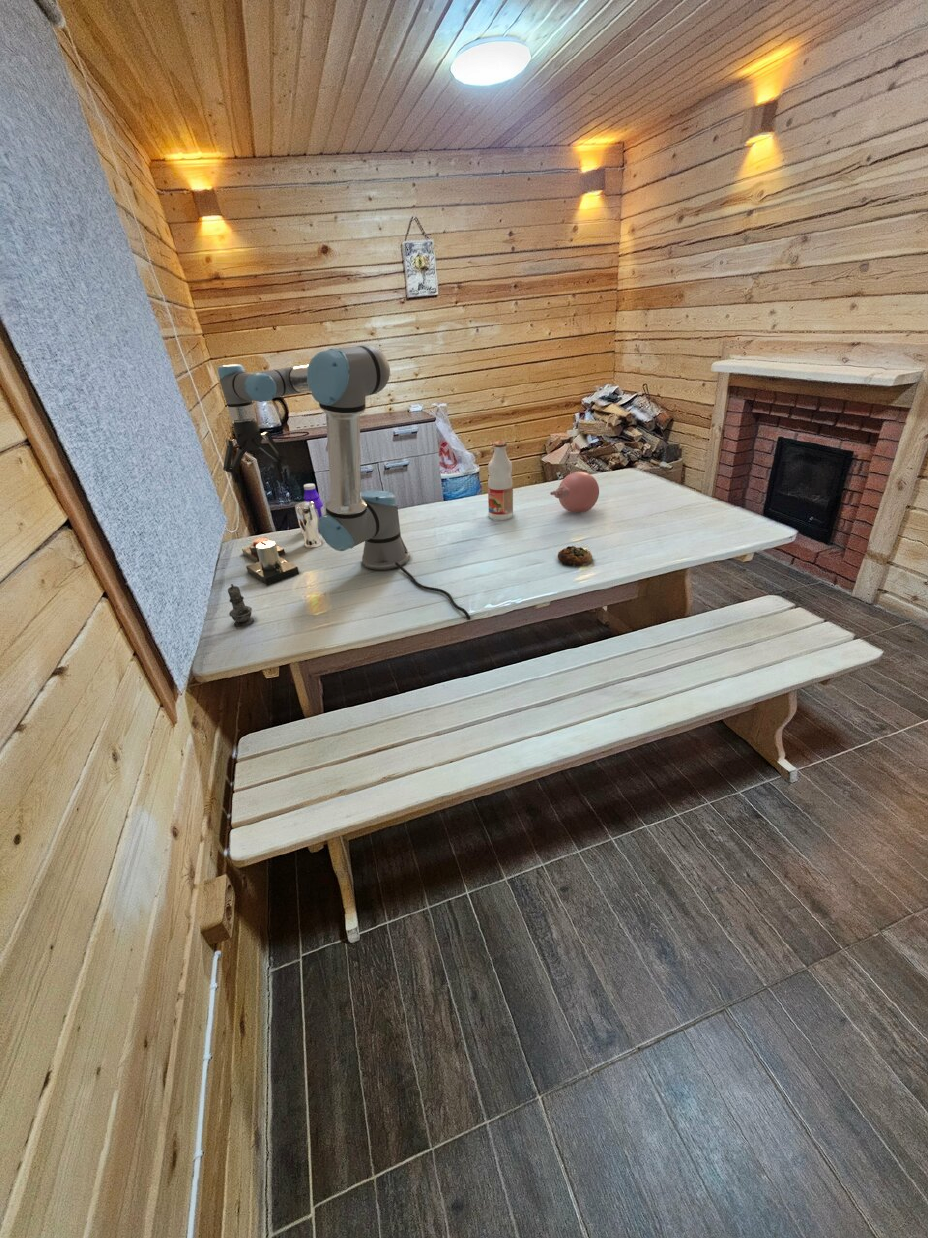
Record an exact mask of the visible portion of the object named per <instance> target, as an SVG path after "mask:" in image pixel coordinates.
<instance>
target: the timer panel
mask: <svg viewBox="0 0 928 1238" xmlns="http://www.w3.org/2000/svg"><path fill="white" fill-rule="evenodd" d="M279 559H280V563H281V566H280V567H278V568H276V569H273V570H263V569H262V567H261V564H260V561H259V562H253V563H251V564H248V565H245V567H246V571H247V574H249V575H250V576H252V577H253V578H255V579H256V580H258V581H259V582H260V583H262V584H263V585H265V586H266V587H267V586H271V585H273V584H276V583H278V582H281V581H285V580H286V579H290V578H292V577H294V576H297V575H299V574H300V571H299V568H298V566H297V565H295V564H293V563H291V562H290V561H288V560H286V559H285V558H283V557H282V556H279Z"/></svg>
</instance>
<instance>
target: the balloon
mask: <svg viewBox="0 0 928 1238" xmlns="http://www.w3.org/2000/svg"><path fill="white" fill-rule="evenodd" d="M550 495H551V496H554V498H556V499H558V501H559V503H560V505H561V507H563V508H564V509H565V510H566V511H567V512H569V513H573V514H581V513H586V512H588V511H590V510H591V509H592V508H593V507H595V505H596V503H597V501H598V500H599V497H600V487H599V483H598V481H597V480H596V479H595V477H594V476H593V475H592V474H590V473H588V472H585V471H574V472H571V473H569V474H568V475H566V476H565V477H564V478H563V479H562V480H561V481H560V483H559V485H558V487H557V488H556V489H555V490H553V491H550Z"/></svg>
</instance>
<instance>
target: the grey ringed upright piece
mask: <svg viewBox="0 0 928 1238" xmlns="http://www.w3.org/2000/svg"><path fill="white" fill-rule="evenodd" d="M227 593H228V595H229V596H228V597H229V603H231V606H232V609H231V610H230V611H229V613H228V615H229V617H231V619H232V620H233V621H234V623H233V626H234V627H235V628H237V629H240V628H247V627H249V626H251V625H252V624H254V622H255V619H254V618H253V617H252V611H253V608H252V607H251V606H248V605H246V604H245V601H244V599H245V597H244V596H243V595H242V592H241V590H240V587H239V586H236V585H234V584H233V583H231V584H230V587H228V589H227Z"/></svg>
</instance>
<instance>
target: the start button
mask: <svg viewBox="0 0 928 1238" xmlns="http://www.w3.org/2000/svg"><path fill="white" fill-rule="evenodd" d="M268 539H269V538H268V537H265V536H260V537H256V538H254V539H253V540H252V543H253V544H254V547H256V545H257V544H259V543H261V541H262V542H265V541H268Z"/></svg>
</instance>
